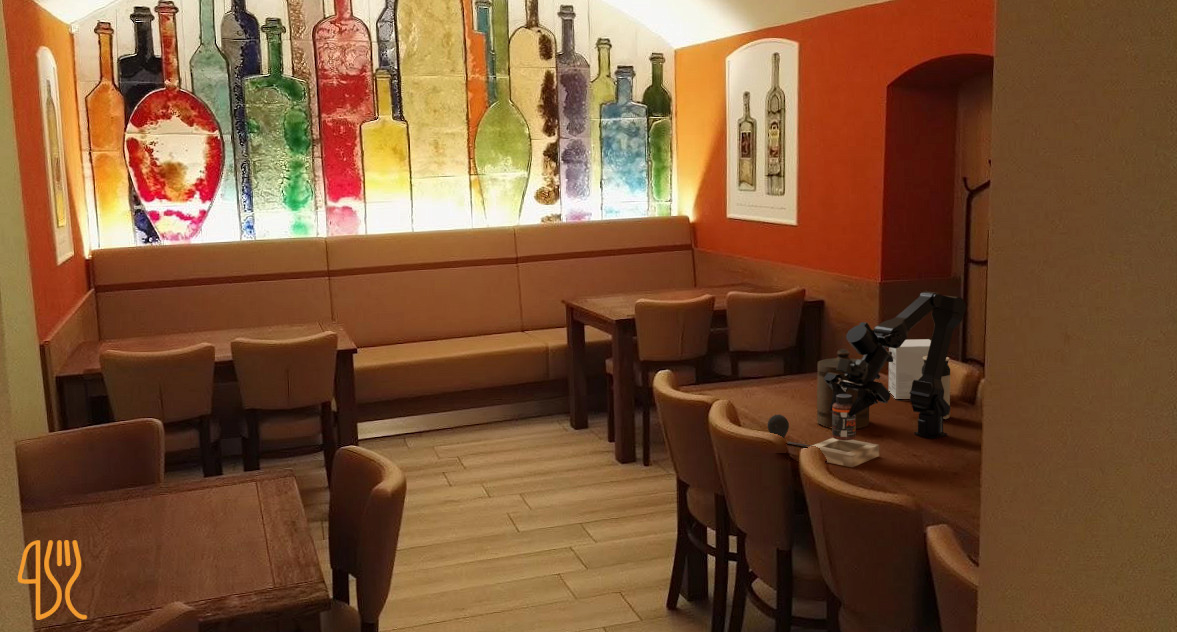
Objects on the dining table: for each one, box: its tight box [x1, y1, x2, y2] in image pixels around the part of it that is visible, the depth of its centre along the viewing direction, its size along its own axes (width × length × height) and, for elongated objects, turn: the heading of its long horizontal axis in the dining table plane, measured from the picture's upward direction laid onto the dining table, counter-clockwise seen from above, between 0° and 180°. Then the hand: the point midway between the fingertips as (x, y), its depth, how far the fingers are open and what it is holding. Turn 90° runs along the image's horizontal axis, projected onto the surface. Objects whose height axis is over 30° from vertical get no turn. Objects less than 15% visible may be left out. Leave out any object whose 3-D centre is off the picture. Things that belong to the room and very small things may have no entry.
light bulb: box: [767, 414, 790, 439], centre depth 273 cm, size 6×6×10 cm
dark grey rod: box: [787, 441, 812, 448], centre depth 277 cm, size 12×1×1 cm, turn 49°
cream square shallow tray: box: [809, 437, 880, 468], centre depth 266 cm, size 13×13×3 cm
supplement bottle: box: [831, 394, 857, 440], centre depth 265 cm, size 6×6×11 cm
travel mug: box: [922, 356, 951, 420], centre depth 302 cm, size 8×8×18 cm
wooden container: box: [816, 348, 870, 430], centre depth 299 cm, size 15×15×22 cm
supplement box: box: [888, 338, 931, 400], centre depth 330 cm, size 13×13×18 cm
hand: (840, 413), depth 264 cm, fingers closed on supplement bottle, 6 cm apart
